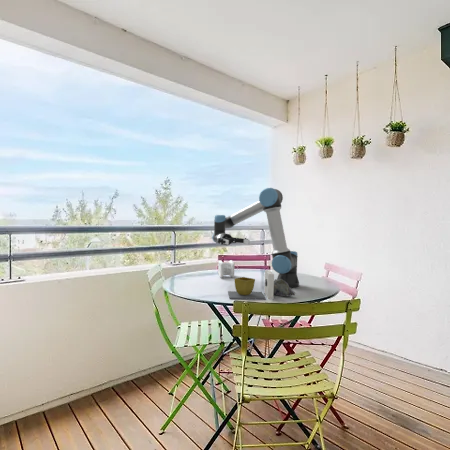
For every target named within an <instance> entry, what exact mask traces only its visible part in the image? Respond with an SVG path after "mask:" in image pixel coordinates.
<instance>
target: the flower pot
mask: <svg viewBox="0 0 450 450" xmlns="http://www.w3.org/2000/svg"><path fill="white" fill-rule="evenodd" d="M233 279H234V288H235V291H237V293H238V294H241V295H249V294H251V292H254V287H255V282H256V279H255V278H251V277H245V276H241V277H237V278H233Z"/></svg>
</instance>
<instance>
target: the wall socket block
mask: <svg viewBox="0 0 450 450" xmlns="http://www.w3.org/2000/svg"><path fill="white" fill-rule="evenodd" d="M274 280H275V274H274V272H273V271H271V270H269V269H267V270H266V269H265V270H264V293H263V294H264V296H265V298H266V299H267V300H274V295H273V293H274Z"/></svg>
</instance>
